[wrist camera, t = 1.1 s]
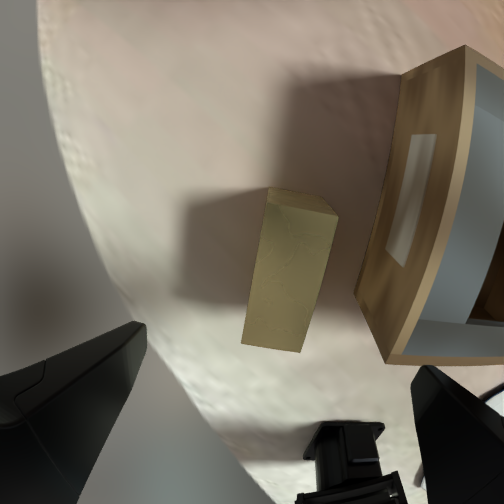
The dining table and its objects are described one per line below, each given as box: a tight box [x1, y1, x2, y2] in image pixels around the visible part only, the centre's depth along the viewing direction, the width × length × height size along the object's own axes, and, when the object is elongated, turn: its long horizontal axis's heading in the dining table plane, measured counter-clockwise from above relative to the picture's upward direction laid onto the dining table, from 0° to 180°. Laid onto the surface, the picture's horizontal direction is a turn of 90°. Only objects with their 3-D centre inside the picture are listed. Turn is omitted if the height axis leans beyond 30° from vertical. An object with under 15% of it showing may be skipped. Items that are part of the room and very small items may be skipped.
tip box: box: [354, 45, 504, 366], centre depth 12 cm, size 14×12×7 cm
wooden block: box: [241, 187, 339, 353], centre depth 15 cm, size 7×3×5 cm, turn 171°
